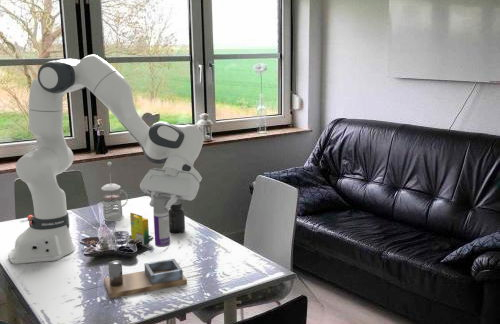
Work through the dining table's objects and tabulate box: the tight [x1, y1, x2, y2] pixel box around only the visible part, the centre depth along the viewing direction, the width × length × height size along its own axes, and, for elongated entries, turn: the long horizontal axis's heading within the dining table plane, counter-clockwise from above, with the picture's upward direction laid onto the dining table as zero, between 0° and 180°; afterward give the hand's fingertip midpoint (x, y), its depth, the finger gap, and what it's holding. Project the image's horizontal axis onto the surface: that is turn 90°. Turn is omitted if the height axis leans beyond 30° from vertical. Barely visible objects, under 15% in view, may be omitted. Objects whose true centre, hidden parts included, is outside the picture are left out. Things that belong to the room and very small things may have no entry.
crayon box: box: [129, 212, 150, 246], centre depth 204 cm, size 7×3×12 cm, turn 50°
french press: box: [101, 161, 128, 222], centre depth 231 cm, size 10×12×25 cm
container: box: [153, 196, 171, 248], centre depth 169 cm, size 5×5×15 cm
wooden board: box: [103, 258, 188, 299], centre depth 170 cm, size 24×12×4 cm, turn 113°
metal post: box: [107, 259, 124, 287], centre depth 166 cm, size 4×4×7 cm
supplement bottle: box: [168, 201, 186, 235], centre depth 215 cm, size 7×7×12 cm
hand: (159, 207), depth 167 cm, fingers closed on container, 4 cm apart
